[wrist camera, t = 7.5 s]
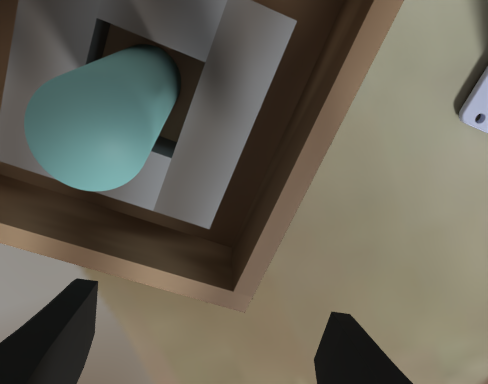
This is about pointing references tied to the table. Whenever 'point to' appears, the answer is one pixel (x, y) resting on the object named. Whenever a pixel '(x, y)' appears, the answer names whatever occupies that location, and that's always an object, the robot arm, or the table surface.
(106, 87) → the peg
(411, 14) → the table surface
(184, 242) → the box
